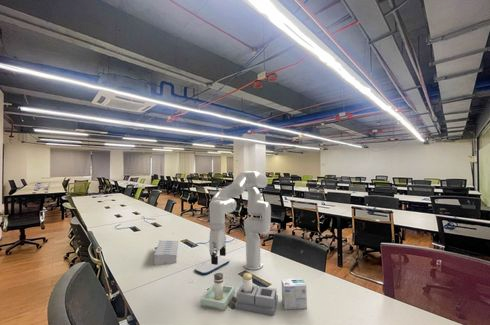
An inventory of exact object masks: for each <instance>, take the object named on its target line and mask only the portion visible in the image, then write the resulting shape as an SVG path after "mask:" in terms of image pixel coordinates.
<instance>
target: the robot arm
mask: <svg viewBox="0 0 490 325" xmlns="http://www.w3.org/2000/svg"><path fill="white" fill-rule="evenodd" d="M268 183H269V182H268V176H266V175H265V174H263V173H261V172H258V171H255V170H253V171H251V170H250V171H247V170H246V171H241V172H240V173H239V174H237V176H236V177H235V178H234V180H233V181H232V183H230V184H229V185H227V186H225V187H223V188H221V189H219V190H218V191H217V192H216V193H214V195H213V196H212V198H211V200H210V202H209V206H208V207H209V208H208V209H209V229H210V230H209V238H208V239H209V243H208V245H209V246H208V248H209V255H210V260H211V264H214V265H217V264H218V257H219V256H220V257H225V256H226V255H227V254H226V253H227V251H226V246H227V245H226V243H227V242H226V241H227V237H226V214H231V213H233V212H234V211H235V210H236V208H237V201H236V200H235V199H234V198H235V197H238V196H241V195H243V193H244V192H245V190H246V192H247V207H246V208H247V214H248V215H251V217H247V218H245V220H244V222H243V228H244V232H245V256H246V257H245V259H246V260H245V262H244V263H243V266H244V268H246V270H251V271H256V270H260V269H261V268H263V267H264V263H263V262H262V261H261V257H262V256H261V237H260V235H259V234H261V235H264V234H265V235H267V234H269V232H270V231H271V221H272V220H271V219H272V218H271V217H272V206H271V203H269V202H268V201H261V191H260V190H259V189H265V188H266V187H267V186H268ZM252 216H255V217H252ZM256 216H257V217H256ZM260 217H261V218H260ZM218 252H219V256H218Z"/></svg>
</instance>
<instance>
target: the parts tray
mask: <svg viewBox="0 0 490 325" xmlns="http://www.w3.org/2000/svg"><path fill="white" fill-rule="evenodd" d="M235 295H236V287H235V286H232V285H227V284H223V299H221V300H215V298H214V283H213V284H212V285H211V286H210V287H209V288H208V290H207V291H206V292H205V293H204V295H202V297H201V298H200V306H201V307H202V308H207V309H213V310H218V311H222V312H225V311H226V309H227V308H228V305H229V304H230V303H231V301H232V299H233V298H234V296H235Z"/></svg>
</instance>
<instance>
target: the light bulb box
mask: <svg viewBox="0 0 490 325" xmlns="http://www.w3.org/2000/svg"><path fill="white" fill-rule="evenodd" d="M280 281H281V298H282V299H281V301H282V306H283V308H284V310H297V309H298V310H299V309H300V310H301V309H308V302H307V301H308V299H307V298H308V297H307V296H308V295H307V291H308V290H307V284H306V282H305V281H304V279H303V278H300V277H299V278H281V279H280Z"/></svg>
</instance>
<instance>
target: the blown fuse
mask: <svg viewBox="0 0 490 325" xmlns="http://www.w3.org/2000/svg"><path fill="white" fill-rule="evenodd" d="M213 284H214V298H215V300H221V299H223V285H224V274H223V273H222V272H216V273H215V274H214V275H213Z"/></svg>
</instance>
